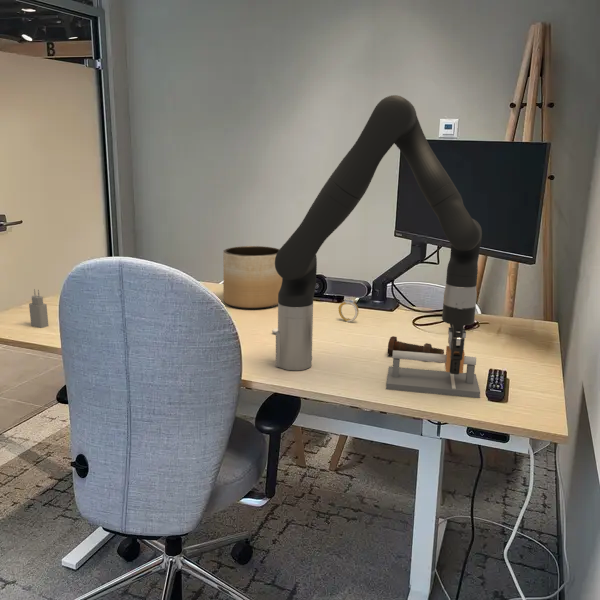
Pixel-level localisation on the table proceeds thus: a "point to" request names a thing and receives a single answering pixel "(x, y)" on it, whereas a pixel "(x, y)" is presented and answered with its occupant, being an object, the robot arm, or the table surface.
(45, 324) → the power adapter
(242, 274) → the planter
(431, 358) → the pipe stand
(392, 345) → the bolt
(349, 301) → the ring
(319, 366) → the table surface
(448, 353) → the collar
